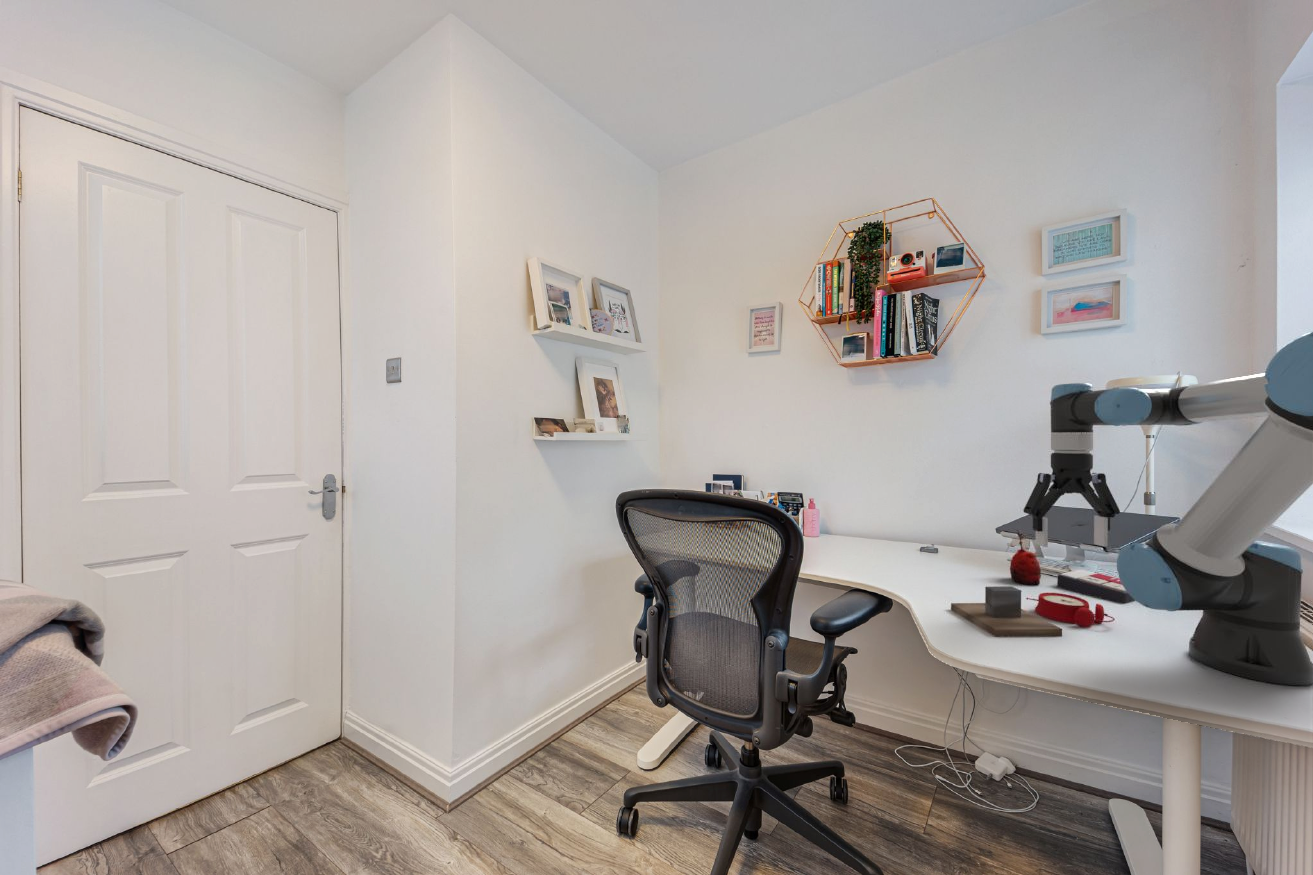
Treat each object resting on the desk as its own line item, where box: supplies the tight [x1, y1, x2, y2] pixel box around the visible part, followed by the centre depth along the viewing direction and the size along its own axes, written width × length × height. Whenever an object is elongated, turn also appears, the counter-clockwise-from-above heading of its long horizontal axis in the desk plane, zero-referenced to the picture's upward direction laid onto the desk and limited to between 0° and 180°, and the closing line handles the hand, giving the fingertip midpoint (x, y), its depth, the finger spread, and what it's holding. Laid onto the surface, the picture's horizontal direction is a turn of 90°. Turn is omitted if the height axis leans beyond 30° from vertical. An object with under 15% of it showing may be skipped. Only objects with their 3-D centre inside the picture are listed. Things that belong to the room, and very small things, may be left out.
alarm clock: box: [1025, 592, 1115, 628], centre depth 119 cm, size 10×6×15 cm
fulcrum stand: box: [950, 585, 1063, 638], centre depth 116 cm, size 16×14×8 cm
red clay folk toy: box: [1009, 528, 1042, 586], centre depth 145 cm, size 8×7×15 cm
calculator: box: [1056, 569, 1136, 604], centre depth 137 cm, size 11×4×15 cm
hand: (1071, 545), depth 118 cm, fingers open, 13 cm apart
